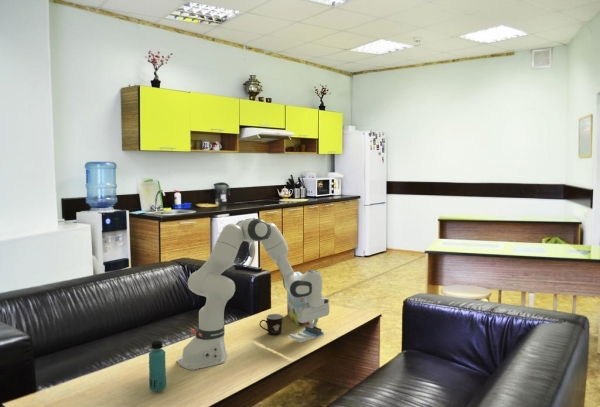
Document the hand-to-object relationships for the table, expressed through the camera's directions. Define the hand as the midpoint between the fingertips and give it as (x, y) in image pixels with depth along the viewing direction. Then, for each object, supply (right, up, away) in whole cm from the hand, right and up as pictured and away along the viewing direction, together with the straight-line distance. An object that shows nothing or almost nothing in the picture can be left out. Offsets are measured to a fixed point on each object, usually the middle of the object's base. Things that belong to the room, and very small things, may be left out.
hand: (313, 327), depth 245 cm
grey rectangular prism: (0, -3, 0) cm, 3 cm away
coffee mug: (-22, -4, -1) cm, 22 cm away
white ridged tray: (-3, -4, -3) cm, 6 cm away
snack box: (-8, -2, +23) cm, 24 cm away
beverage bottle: (-63, -9, -61) cm, 88 cm away
